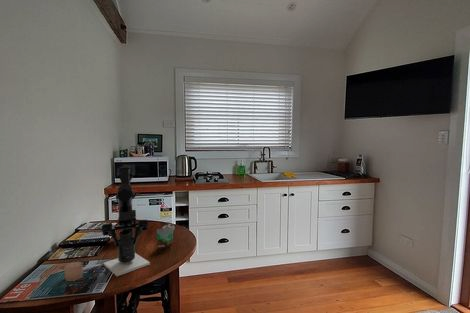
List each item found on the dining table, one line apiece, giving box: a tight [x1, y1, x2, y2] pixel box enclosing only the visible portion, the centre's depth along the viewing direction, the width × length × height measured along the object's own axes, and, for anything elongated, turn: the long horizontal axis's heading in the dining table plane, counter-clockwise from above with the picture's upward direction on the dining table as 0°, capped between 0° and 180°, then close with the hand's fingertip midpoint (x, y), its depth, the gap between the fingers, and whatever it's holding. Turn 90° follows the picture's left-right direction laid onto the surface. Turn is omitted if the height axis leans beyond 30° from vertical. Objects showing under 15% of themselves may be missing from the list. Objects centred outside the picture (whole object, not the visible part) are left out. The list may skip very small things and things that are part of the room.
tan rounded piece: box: [63, 261, 84, 282], centre depth 105 cm, size 6×6×5 cm
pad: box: [103, 252, 151, 277], centre depth 116 cm, size 14×14×1 cm
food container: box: [156, 221, 175, 249], centre depth 137 cm, size 12×6×10 cm, turn 168°
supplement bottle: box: [117, 230, 136, 263], centre depth 115 cm, size 7×7×12 cm
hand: (126, 245), depth 114 cm, fingers closed on supplement bottle, 7 cm apart
